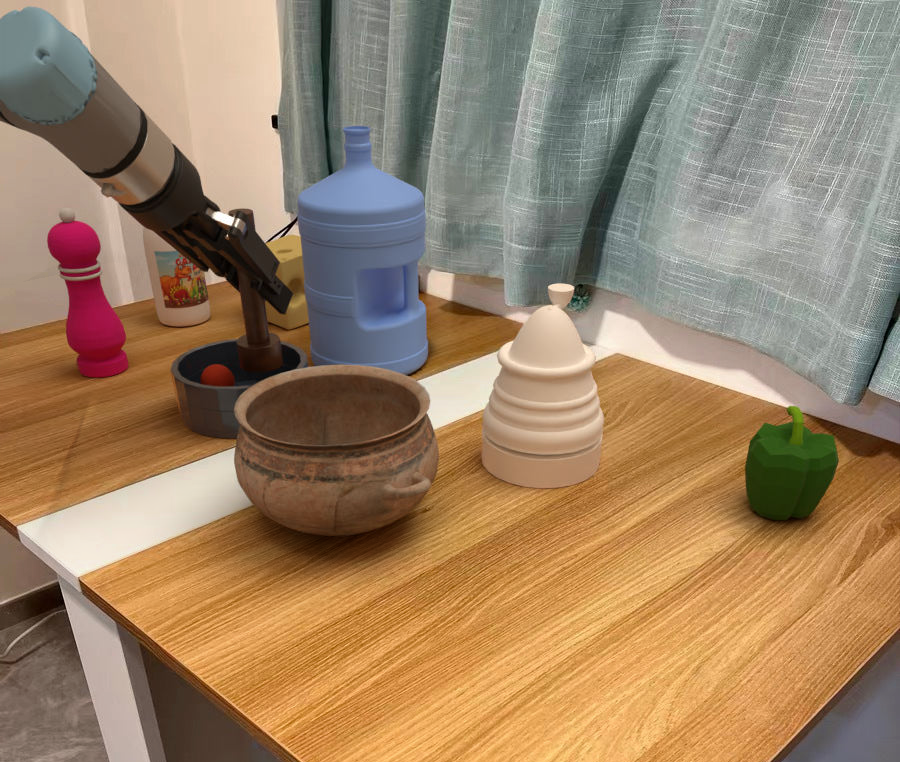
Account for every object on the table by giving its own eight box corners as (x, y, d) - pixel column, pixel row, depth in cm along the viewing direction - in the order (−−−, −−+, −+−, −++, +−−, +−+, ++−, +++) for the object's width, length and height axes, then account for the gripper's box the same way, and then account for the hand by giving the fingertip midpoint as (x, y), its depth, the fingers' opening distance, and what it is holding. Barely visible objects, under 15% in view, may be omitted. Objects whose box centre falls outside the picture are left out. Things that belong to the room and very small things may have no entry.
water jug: (289, 373, 116) (262, 134, 99) (346, 334, 127) (330, 114, 111) (397, 392, 111) (387, 144, 94) (446, 349, 123) (445, 122, 106)
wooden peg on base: (237, 373, 102) (213, 218, 92) (242, 356, 106) (219, 205, 96) (281, 372, 102) (262, 217, 92) (284, 355, 106) (266, 204, 96)
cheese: (342, 314, 134) (337, 245, 128) (286, 333, 128) (278, 261, 122) (299, 299, 140) (292, 232, 134) (243, 316, 134) (233, 247, 128)
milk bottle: (149, 326, 130) (119, 178, 118) (171, 309, 136) (144, 167, 124) (199, 329, 129) (173, 180, 117) (219, 311, 135) (196, 168, 123)
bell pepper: (821, 538, 84) (849, 442, 78) (732, 522, 86) (753, 427, 80) (824, 496, 90) (850, 404, 84) (740, 482, 92) (760, 392, 86)
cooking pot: (194, 502, 89) (171, 387, 82) (346, 445, 99) (338, 339, 92) (338, 615, 74) (326, 487, 67) (501, 535, 84) (505, 416, 77)
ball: (197, 399, 108) (190, 368, 105) (221, 388, 110) (215, 357, 108) (220, 406, 106) (213, 373, 103) (244, 394, 108) (238, 362, 106)
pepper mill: (63, 374, 116) (19, 211, 104) (100, 355, 121) (62, 198, 109) (108, 382, 114) (68, 217, 102) (144, 362, 119) (109, 203, 107)
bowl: (174, 443, 100) (164, 393, 96) (186, 387, 112) (177, 341, 109) (314, 434, 102) (309, 384, 98) (310, 380, 114) (305, 334, 111)
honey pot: (521, 423, 104) (528, 265, 93) (620, 452, 98) (640, 287, 87) (458, 465, 95) (458, 298, 85) (562, 500, 89) (577, 324, 79)
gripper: (67, 199, 84) (210, 319, 106) (195, 220, 78) (319, 342, 100) (96, 127, 85) (233, 262, 106) (225, 143, 79) (342, 282, 100)
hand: (274, 300), depth 103 cm, fingers closed on wooden peg on base, 3 cm apart
